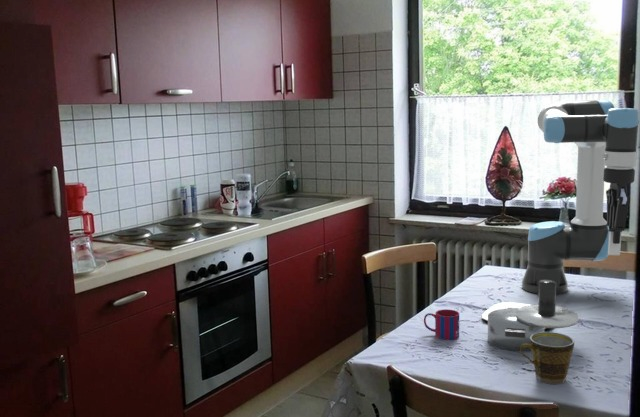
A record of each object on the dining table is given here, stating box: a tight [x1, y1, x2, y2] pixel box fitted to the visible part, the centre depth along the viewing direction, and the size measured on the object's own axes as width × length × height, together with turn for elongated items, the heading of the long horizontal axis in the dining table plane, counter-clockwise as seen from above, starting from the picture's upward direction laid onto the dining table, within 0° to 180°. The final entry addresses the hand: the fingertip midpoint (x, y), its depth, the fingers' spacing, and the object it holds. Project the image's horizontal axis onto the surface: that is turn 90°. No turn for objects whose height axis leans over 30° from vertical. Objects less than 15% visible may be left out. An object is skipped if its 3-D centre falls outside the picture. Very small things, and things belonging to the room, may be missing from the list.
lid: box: [516, 280, 579, 329], centre depth 181 cm, size 16×16×10 cm
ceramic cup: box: [519, 331, 575, 385], centre depth 159 cm, size 13×10×10 cm
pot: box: [487, 308, 545, 353], centre depth 185 cm, size 20×15×7 cm
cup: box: [423, 309, 460, 341], centre depth 191 cm, size 7×10×7 cm
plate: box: [481, 301, 548, 330], centre depth 204 cm, size 22×22×2 cm
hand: (613, 254), depth 180 cm, fingers closed
